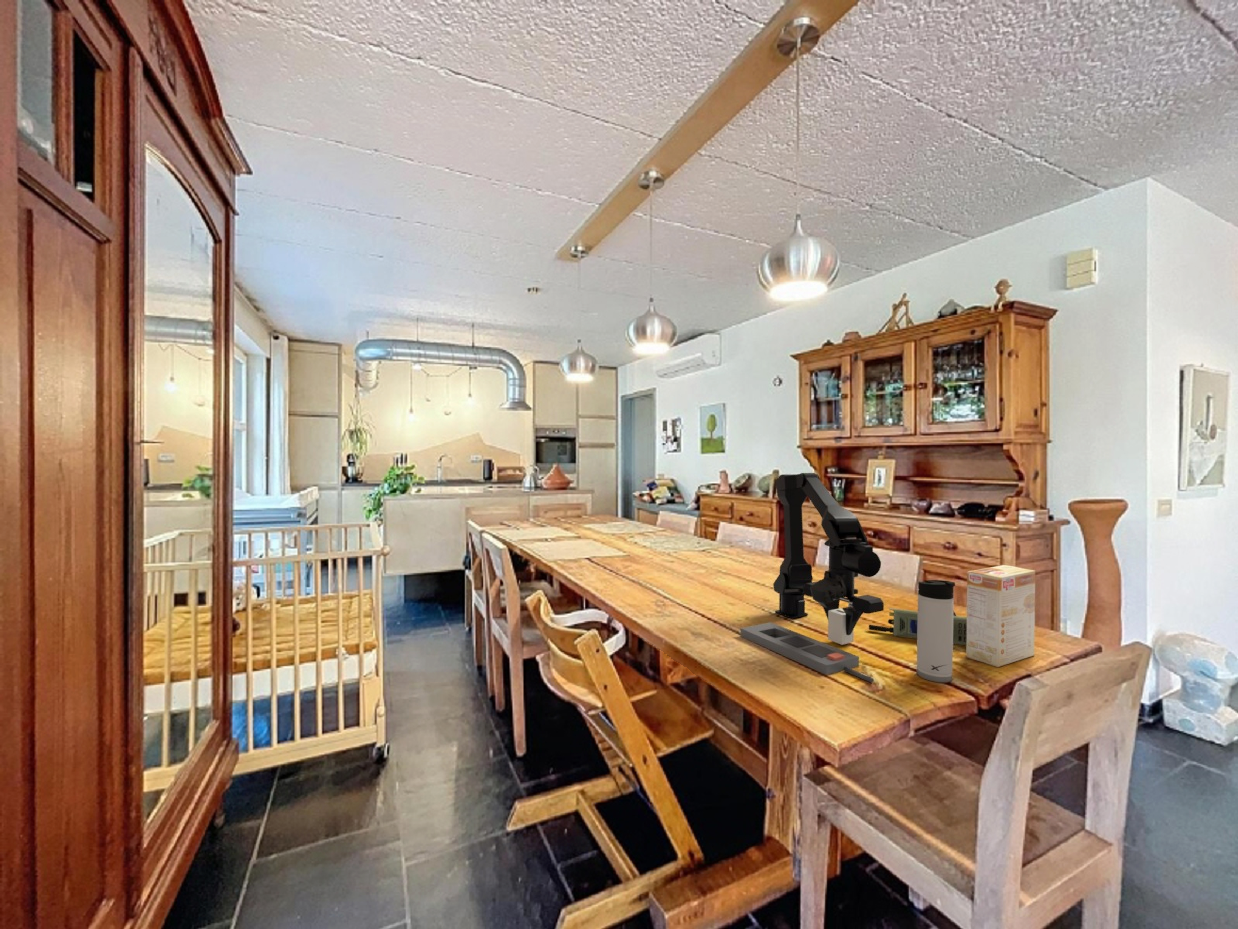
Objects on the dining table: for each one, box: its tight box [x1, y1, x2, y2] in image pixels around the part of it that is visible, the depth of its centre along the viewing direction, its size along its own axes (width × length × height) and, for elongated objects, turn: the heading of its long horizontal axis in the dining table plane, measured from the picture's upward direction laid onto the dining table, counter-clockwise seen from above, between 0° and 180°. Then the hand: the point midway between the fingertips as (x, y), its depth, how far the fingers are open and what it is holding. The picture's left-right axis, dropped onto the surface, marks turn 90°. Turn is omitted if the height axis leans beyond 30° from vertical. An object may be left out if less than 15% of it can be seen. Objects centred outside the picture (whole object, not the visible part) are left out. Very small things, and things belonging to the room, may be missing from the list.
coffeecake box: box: [965, 564, 1036, 668], centre depth 118 cm, size 15×7×20 cm, turn 117°
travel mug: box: [916, 579, 956, 684], centre depth 107 cm, size 6×7×20 cm
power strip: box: [740, 621, 874, 683], centre depth 119 cm, size 33×10×3 cm, turn 29°
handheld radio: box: [868, 608, 967, 647], centre depth 130 cm, size 7×3×25 cm
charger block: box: [827, 607, 854, 646], centre depth 126 cm, size 4×4×7 cm
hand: (840, 632), depth 126 cm, fingers closed on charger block, 4 cm apart
